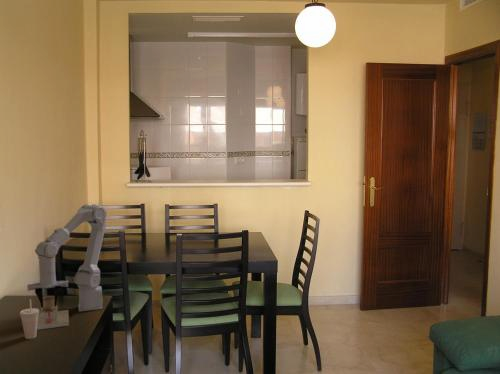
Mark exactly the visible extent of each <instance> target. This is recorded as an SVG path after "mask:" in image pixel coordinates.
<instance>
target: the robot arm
mask: <svg viewBox="0 0 500 374" xmlns="http://www.w3.org/2000/svg"><path fill="white" fill-rule="evenodd" d="M106 219H107V211H106V210H105V207H103V206H102V205H91V204H83V205H82V206H81V207H80V208H79V209H77V212H76V213H75V214H74V216H72V218H71V219H70V220H69V221H68V222H67V223H66V224H65V225H64V227H58V228H55V229H54V232H53V233H52V234H51V235H50V236H48V237H46V238H45V240H43V241H40V242H39V243H38V244H37V245H36V246H35V247H36V248H35V249H34V252H35V254H36V255H37V260H38V265H39V268H38V269H39V282H37V283H30V284H27V291H28V292H30V291H33V290H34V292H35V295H36V296H37V298H38V300H39V303H40V306H41V307H40V309H41V308H43V297H44V296H43V295H44V293H43V292H44V291H43V290H44V289H45V290H46V289H52V288H54V289H53V291H54V294H53V295H54V300H55V301H54V306H56V305H57V303H58V298H59V295H60V293H61V291H62V287H63V288H64V287H66V288H68V287H69V280H57V276H56V256H57V254H58V252H59V249H60V248H61V247H62V245H63V244H65V243H66V242H67V241H68V240H69V239H70V234H71V233H73V231H75V229H77V228H78V227H79V226H80V225H82V224H83V223H85V222H87V223H88V224H89V226H90V227H91V230H90V234H89V240H88V242H87V243H88V244H87V249H86V252H85V255H84V261H83V263H82V265H80V266H79V267H78V270H77V272H76V273H75V275H74V282H75V284H76V285H77V288H78V302H79V303H78V306H77V307H78V312H87V311H94V310H102V309H103V304H104V303H103V302H104V301H103V290H102V289H103V288H102V286H101V285H100V283H101V270H100V268H99V267H98V262H99V258H100V254H101V249H102V245H103V240H104V235H105V231H106V225H107V222H106Z"/></svg>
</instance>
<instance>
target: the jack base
mask: <svg viewBox="0 0 500 374" xmlns="http://www.w3.org/2000/svg"><path fill="white" fill-rule="evenodd" d="M69 316H70V315H69V309H65V310H58V305H57V304H56V306H55V310H52V309H47V310H46V311H43V308H41V307H40V312H39V314H38V323H37V331H39V330H48V329H53V328H56V329H57V328H61V327H68V326H70V320H69V318H70V317H69Z"/></svg>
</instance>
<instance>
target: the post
mask: <svg viewBox="0 0 500 374" xmlns="http://www.w3.org/2000/svg"><path fill="white" fill-rule="evenodd" d="M54 301H55V295H54V296H52V295H51V296H43V311H46V310H47V309H52V310H55V306H54Z"/></svg>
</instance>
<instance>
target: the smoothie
mask: <svg viewBox="0 0 500 374" xmlns="http://www.w3.org/2000/svg"><path fill="white" fill-rule="evenodd" d="M32 306H33V305H32V299H31V298H30V299H29V308H26V309H21V311H20V312H19V316H20V317H21V318H20V319H21V324H22V329H23V332H24V333H23V334H24V339H25V340H31V339H35V338H36V337H37V332H38V330H37V323H38V314H40V309H39V308H35V307H32Z"/></svg>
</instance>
